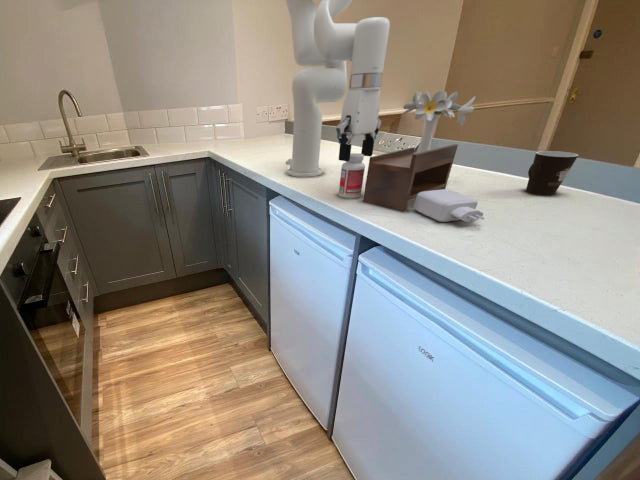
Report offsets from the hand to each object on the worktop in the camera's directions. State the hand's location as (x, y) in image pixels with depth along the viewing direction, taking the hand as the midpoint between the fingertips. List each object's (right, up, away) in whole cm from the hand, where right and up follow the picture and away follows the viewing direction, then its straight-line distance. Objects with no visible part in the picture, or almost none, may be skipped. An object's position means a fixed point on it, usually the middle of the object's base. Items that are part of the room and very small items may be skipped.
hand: (355, 158), depth 92 cm
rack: (+14, -10, +2) cm, 17 cm away
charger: (+18, -20, -13) cm, 29 cm away
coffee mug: (+50, -9, +2) cm, 51 cm away
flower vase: (+26, -1, +17) cm, 30 cm away
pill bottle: (0, -9, +6) cm, 10 cm away
